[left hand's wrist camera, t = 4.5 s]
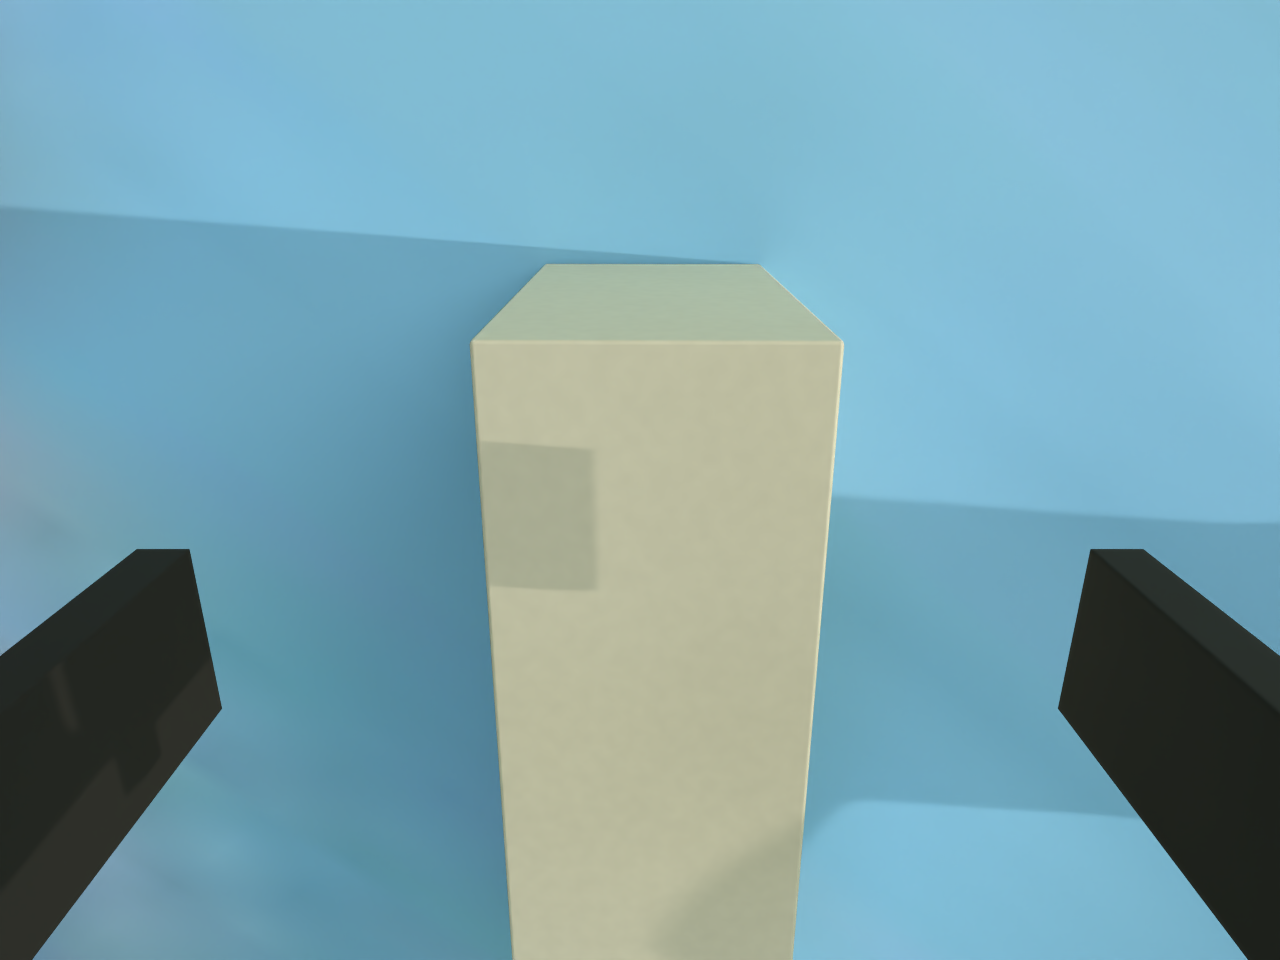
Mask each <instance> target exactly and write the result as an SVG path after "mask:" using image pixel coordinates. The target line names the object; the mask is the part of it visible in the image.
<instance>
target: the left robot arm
mask: <svg viewBox="0 0 1280 960" xmlns="http://www.w3.org/2000/svg"><path fill="white" fill-rule="evenodd" d="M221 709H222V706H221V701H220V697H219V692H218V687H217V682H216V677H215V672H214V667H213V662H212V657H211V652H210V648H209V643H208V638H207V633H206V628H205V623H204V618H203V613H202V608H201V603H200V599H199V594H198V589H197V584H196V579H195V574H194V569H193V564H192V559H191V554H190V550H189V549H136V550H135V551H134V552H133V553H131V554H130V555H129V556H128V557H126V558H125V559H124V560H122V561H121V562H120V563H119V564H117V565H116V566H115V567H113V568H112V569H111V570H110V571H108V572H107V573H106V574H105V575H103V576H102V577H101V578H99V579H98V580H97V581H96V582H94V583H93V584H92V585H90V586H89V587H88V588H87V589H85V590H84V591H83V592H81V593H80V594H79V595H78V596H76V597H75V598H74V599H73V600H71V601H70V602H69V603H67V604H66V605H65V606H64V607H62V608H61V609H60V610H58V611H57V612H56V613H55V614H53V615H52V616H51V617H50V618H48V619H47V620H46V621H44V622H43V623H42V624H41V625H39V626H38V627H37V628H35V629H34V630H33V631H32V632H30V633H29V634H28V635H26V636H25V637H24V638H23V639H21V640H20V641H19V642H18V643H16V644H15V645H14V646H12V647H11V648H10V649H9V650H7V651H6V652H5V653H3V654H2V655H1V656H0V960H32V959H33V958H34V956H35V955H36V954H37V952H38V951H39V950H40V948H41V947H42V946H43V944H44V943H45V942H46V940H47V939H48V938H49V937H50V935H51V934H52V933H53V931H54V930H55V929H56V927H57V926H58V925H59V923H60V922H61V921H62V919H63V918H64V917H65V915H66V914H67V913H68V911H69V910H70V909H71V907H72V906H73V905H74V903H75V902H76V901H77V900H78V898H79V897H80V896H81V894H82V893H83V892H84V890H85V889H86V888H87V886H88V885H89V884H90V882H91V881H92V880H93V878H94V877H95V876H96V874H97V873H98V872H99V870H100V869H101V868H102V866H103V865H104V864H105V862H106V861H107V860H108V859H109V857H110V856H111V855H112V853H113V852H114V851H115V849H116V848H117V847H118V845H119V844H120V843H121V841H122V840H123V839H124V837H125V836H126V835H127V833H128V832H129V831H130V829H131V828H132V827H133V825H134V824H135V823H136V822H137V820H138V819H139V818H140V816H141V815H142V814H143V812H144V811H145V810H146V808H147V807H148V806H149V804H150V803H151V802H152V800H153V799H154V798H155V796H156V795H157V794H158V792H159V791H160V790H161V788H162V787H163V786H164V784H165V783H166V782H167V781H168V779H169V778H170V777H171V775H172V774H173V773H174V771H175V770H176V769H177V767H178V766H179V765H180V763H181V762H182V761H183V759H184V758H185V757H186V755H187V754H188V753H189V751H190V750H191V749H192V747H193V746H194V745H195V744H196V742H197V741H198V740H199V738H200V737H201V736H202V734H203V733H204V732H205V730H206V729H207V728H208V726H209V725H210V724H211V722H212V721H213V720H214V718H215V717H216V716H217V714H218V713H219V712H220V710H221ZM1058 709H1059V710H1060V712H1061V713H1062V714H1063V716H1064V717H1065V718H1066V720H1067V721H1068V722H1069V724H1070V725H1071V726H1072V728H1073V729H1074V730H1075V732H1076V733H1077V734H1078V736H1079V737H1080V738H1081V740H1082V741H1083V742H1084V744H1085V745H1086V746H1087V747H1088V749H1089V750H1090V751H1091V753H1092V754H1093V755H1094V757H1095V758H1096V759H1097V761H1098V762H1099V763H1100V765H1101V766H1102V767H1103V769H1104V770H1105V771H1106V773H1107V774H1108V775H1109V777H1110V778H1111V779H1112V781H1113V782H1114V783H1115V784H1116V786H1117V787H1118V788H1119V790H1120V791H1121V792H1122V794H1123V795H1124V796H1125V798H1126V799H1127V800H1128V802H1129V803H1130V804H1131V806H1132V807H1133V808H1134V810H1135V811H1136V812H1137V814H1138V815H1139V816H1140V818H1141V819H1142V820H1143V822H1144V823H1145V824H1146V825H1147V827H1148V828H1149V829H1150V831H1151V832H1152V833H1153V835H1154V836H1155V837H1156V839H1157V840H1158V841H1159V843H1160V844H1161V845H1162V847H1163V848H1164V849H1165V851H1166V852H1167V853H1168V855H1169V856H1170V857H1171V859H1172V860H1173V861H1174V862H1175V864H1176V865H1177V866H1178V868H1179V869H1180V870H1181V872H1182V873H1183V874H1184V876H1185V877H1186V878H1187V880H1188V881H1189V882H1190V884H1191V885H1192V886H1193V888H1194V889H1195V890H1196V892H1197V893H1198V894H1199V896H1200V897H1201V898H1202V900H1203V901H1204V902H1205V903H1206V905H1207V906H1208V907H1209V909H1210V910H1211V911H1212V913H1213V914H1214V915H1215V917H1216V918H1217V919H1218V921H1219V922H1220V923H1221V925H1222V926H1223V927H1224V929H1225V930H1226V931H1227V933H1228V934H1229V935H1230V937H1231V938H1232V939H1233V941H1234V942H1235V943H1236V944H1237V946H1238V947H1239V948H1240V950H1241V951H1242V952H1243V954H1244V955H1245V956H1246V958H1247V959H1248V960H1280V656H1279V655H1278V654H1277V653H1275V652H1274V651H1273V650H1271V649H1270V648H1269V647H1268V646H1266V645H1265V644H1264V643H1262V642H1261V641H1260V640H1259V639H1257V638H1256V637H1255V636H1254V635H1252V634H1251V633H1250V632H1248V631H1247V630H1246V629H1245V628H1243V627H1242V626H1241V625H1239V624H1238V623H1237V622H1236V621H1234V620H1233V619H1232V618H1230V617H1229V616H1228V615H1227V614H1225V613H1224V612H1223V611H1222V610H1220V609H1219V608H1218V607H1216V606H1215V605H1214V604H1213V603H1211V602H1210V601H1209V600H1207V599H1206V598H1205V597H1204V596H1202V595H1201V594H1200V593H1199V592H1197V591H1196V590H1195V589H1193V588H1192V587H1191V586H1190V585H1188V584H1187V583H1186V582H1184V581H1183V580H1182V579H1181V578H1179V577H1178V576H1177V575H1175V574H1174V573H1173V572H1172V571H1170V570H1169V569H1168V568H1167V567H1165V566H1164V565H1163V564H1161V563H1160V562H1159V561H1158V560H1156V559H1155V558H1154V557H1152V556H1151V555H1150V554H1149V553H1147V552H1146V551H1145V550H1144V549H1091V550H1090V554H1089V559H1088V564H1087V569H1086V574H1085V579H1084V584H1083V589H1082V594H1081V599H1080V603H1079V608H1078V613H1077V618H1076V623H1075V628H1074V633H1073V638H1072V643H1071V648H1070V652H1069V657H1068V662H1067V667H1066V672H1065V677H1064V682H1063V687H1062V692H1061V697H1060V701H1059V706H1058Z"/></svg>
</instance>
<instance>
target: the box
mask: <svg viewBox="0 0 1280 960" xmlns="http://www.w3.org/2000/svg"><path fill="white" fill-rule="evenodd" d="M843 351H844V343H843V341H842V340H841V339H840V338H839V337H838V336H837V335H835V334H834V333H833V332H832V331H831V330H830V329H829V328H828V327H827V326H826V325H825V324H823V323H822V322H821V321H820V320H819V319H818V318H817V317H816V316H815V315H814V314H813V313H812V312H810V311H809V310H808V309H807V308H806V307H805V306H804V305H803V304H802V303H801V302H800V301H799V300H797V299H796V298H795V297H794V296H793V295H792V294H791V293H790V292H789V291H788V290H787V289H785V288H784V287H783V286H782V285H781V284H780V283H779V282H778V281H777V280H776V279H775V278H774V277H772V276H771V275H770V274H769V273H768V272H767V271H766V270H765V269H764V268H763V267H762V266H760V265H759V264H546V265H544V266H543V267H542V268H541V269H540V270H539V271H538V272H537V273H536V274H535V275H534V276H533V277H532V278H531V280H530V281H529V282H528V283H527V284H526V285H525V286H524V287H523V288H522V289H521V290H520V291H519V292H518V293H517V294H516V295H515V296H514V297H513V298H512V299H511V300H510V301H509V302H508V303H507V304H506V305H505V306H504V307H503V308H502V309H501V310H500V311H499V312H498V313H497V314H496V315H495V317H494V318H493V319H492V320H491V321H490V322H489V323H488V324H487V325H486V326H485V327H484V328H483V329H482V330H481V331H480V332H479V333H478V334H477V335H476V336H475V337H474V338H473V339H472V340H471V342H470V355H471V370H472V384H473V398H474V413H475V427H476V442H477V456H478V471H479V485H480V499H481V514H482V528H483V543H484V557H485V572H486V586H487V600H488V615H489V629H490V644H491V658H492V673H493V687H494V701H495V716H496V730H497V745H498V759H499V774H500V788H501V803H502V817H503V831H504V846H505V860H506V875H507V889H508V904H509V918H510V932H511V947H512V960H793V948H794V936H795V924H796V912H797V900H798V888H799V876H800V864H801V852H802V840H803V829H804V817H805V805H806V793H807V781H808V769H809V757H810V745H811V733H812V721H813V709H814V697H815V685H816V673H817V661H818V650H819V638H820V626H821V614H822V602H823V590H824V578H825V566H826V554H827V542H828V530H829V518H830V506H831V494H832V482H833V470H834V459H835V447H836V435H837V423H838V411H839V399H840V387H841V375H842V363H843Z"/></svg>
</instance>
